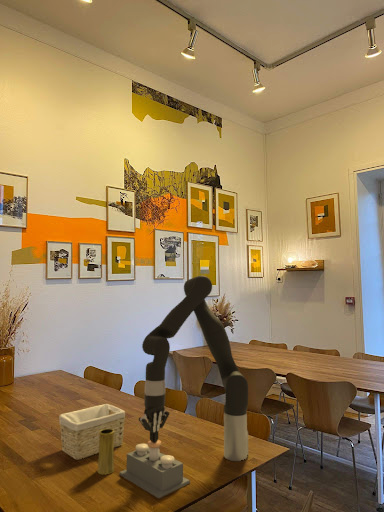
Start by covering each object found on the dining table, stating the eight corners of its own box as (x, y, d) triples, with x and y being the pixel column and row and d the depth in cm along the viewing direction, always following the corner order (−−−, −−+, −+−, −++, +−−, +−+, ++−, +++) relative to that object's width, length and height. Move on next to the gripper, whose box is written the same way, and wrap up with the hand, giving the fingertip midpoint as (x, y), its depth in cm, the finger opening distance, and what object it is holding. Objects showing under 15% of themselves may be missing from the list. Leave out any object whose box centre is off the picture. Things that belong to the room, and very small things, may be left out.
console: (149, 462, 147) (150, 443, 147) (189, 483, 131) (189, 462, 132) (119, 474, 137) (120, 454, 137) (158, 498, 121) (159, 475, 122)
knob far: (143, 464, 142) (143, 442, 143) (151, 468, 139) (151, 446, 140) (132, 468, 139) (133, 446, 140) (140, 473, 136) (141, 450, 136)
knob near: (167, 477, 132) (167, 453, 133) (176, 482, 129) (177, 458, 130) (157, 482, 129) (157, 458, 130) (166, 487, 126) (166, 462, 126)
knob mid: (155, 461, 138) (155, 438, 138) (163, 465, 134) (163, 442, 135) (144, 465, 134) (144, 442, 135) (153, 470, 131) (153, 446, 132)
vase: (115, 467, 143) (116, 428, 144) (112, 475, 137) (113, 434, 138) (99, 467, 142) (100, 428, 144) (95, 475, 136) (96, 434, 138)
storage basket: (74, 463, 146) (75, 423, 147) (56, 450, 158) (57, 413, 159) (126, 446, 162) (127, 410, 164) (106, 435, 174) (107, 402, 176)
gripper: (162, 386, 144) (161, 434, 143) (133, 393, 135) (132, 443, 133) (175, 390, 139) (174, 439, 137) (146, 397, 130) (145, 450, 128)
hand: (153, 441), depth 135 cm, fingers closed
